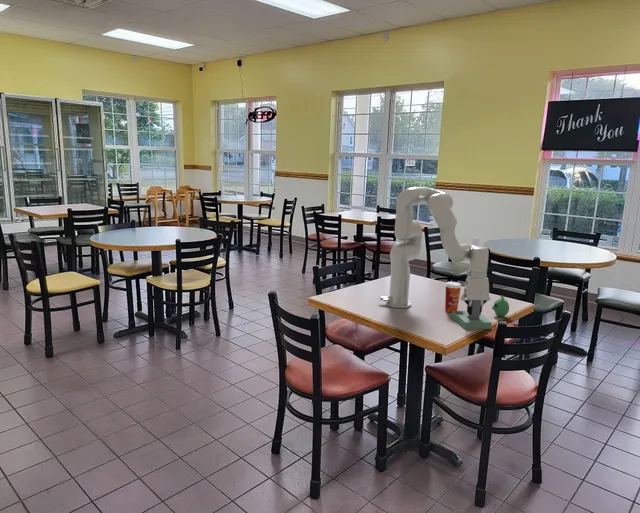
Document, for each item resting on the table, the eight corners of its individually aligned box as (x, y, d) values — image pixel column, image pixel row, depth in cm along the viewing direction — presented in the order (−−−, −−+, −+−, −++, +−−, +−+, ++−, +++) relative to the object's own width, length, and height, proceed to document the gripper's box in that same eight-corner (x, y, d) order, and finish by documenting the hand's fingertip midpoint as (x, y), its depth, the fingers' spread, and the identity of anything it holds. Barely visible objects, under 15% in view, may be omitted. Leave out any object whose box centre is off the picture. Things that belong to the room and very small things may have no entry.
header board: (464, 329, 209) (465, 321, 208) (451, 316, 225) (452, 310, 224) (491, 328, 210) (491, 321, 210) (476, 316, 226) (477, 310, 225)
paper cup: (450, 314, 229) (453, 286, 226) (439, 309, 235) (442, 282, 232) (462, 312, 232) (465, 284, 229) (451, 307, 239) (454, 280, 236)
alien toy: (490, 313, 232) (492, 293, 230) (507, 315, 230) (509, 295, 228) (491, 317, 226) (493, 297, 224) (508, 319, 224) (511, 299, 221)
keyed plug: (471, 320, 213) (473, 299, 211) (467, 317, 218) (469, 296, 216) (479, 320, 213) (481, 299, 211) (474, 317, 218) (476, 296, 216)
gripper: (462, 276, 206) (459, 316, 210) (499, 276, 208) (495, 316, 211) (456, 272, 214) (453, 311, 217) (491, 272, 215) (488, 311, 219)
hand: (474, 313), depth 214 cm, fingers closed on keyed plug, 3 cm apart
